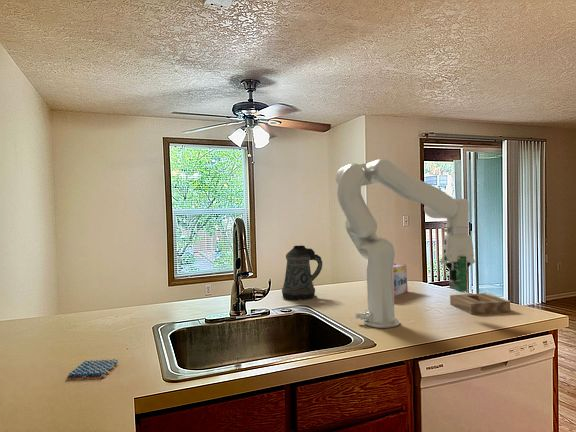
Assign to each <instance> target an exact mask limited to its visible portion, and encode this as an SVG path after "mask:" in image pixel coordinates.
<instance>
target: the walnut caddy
mask: <svg viewBox="0 0 576 432" xmlns="http://www.w3.org/2000/svg"><path fill="white" fill-rule="evenodd" d="M449 303H450V305H451V306H453V307H455V308H457V309H459V310H461V311H463V312H465V313H468V314H470V315H483V314H484V315H485V314H498V313H510V312H511V300H509V299H506V298H503V297H501V296H497V295H494V294H491V293H489V292H481V293H467V294H466V293H465V294H450V295H449Z"/></svg>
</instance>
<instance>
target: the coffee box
mask: <svg viewBox="0 0 576 432" xmlns="http://www.w3.org/2000/svg"><path fill="white" fill-rule="evenodd" d="M455 270H456V281H452V280H450V277H449V276H448V277H449V281H448V282H449V289H452V290H453V291H456V292H461V293H465V292H466V293H467V291H468V290H467V270H466V256H458V262H455Z"/></svg>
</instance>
